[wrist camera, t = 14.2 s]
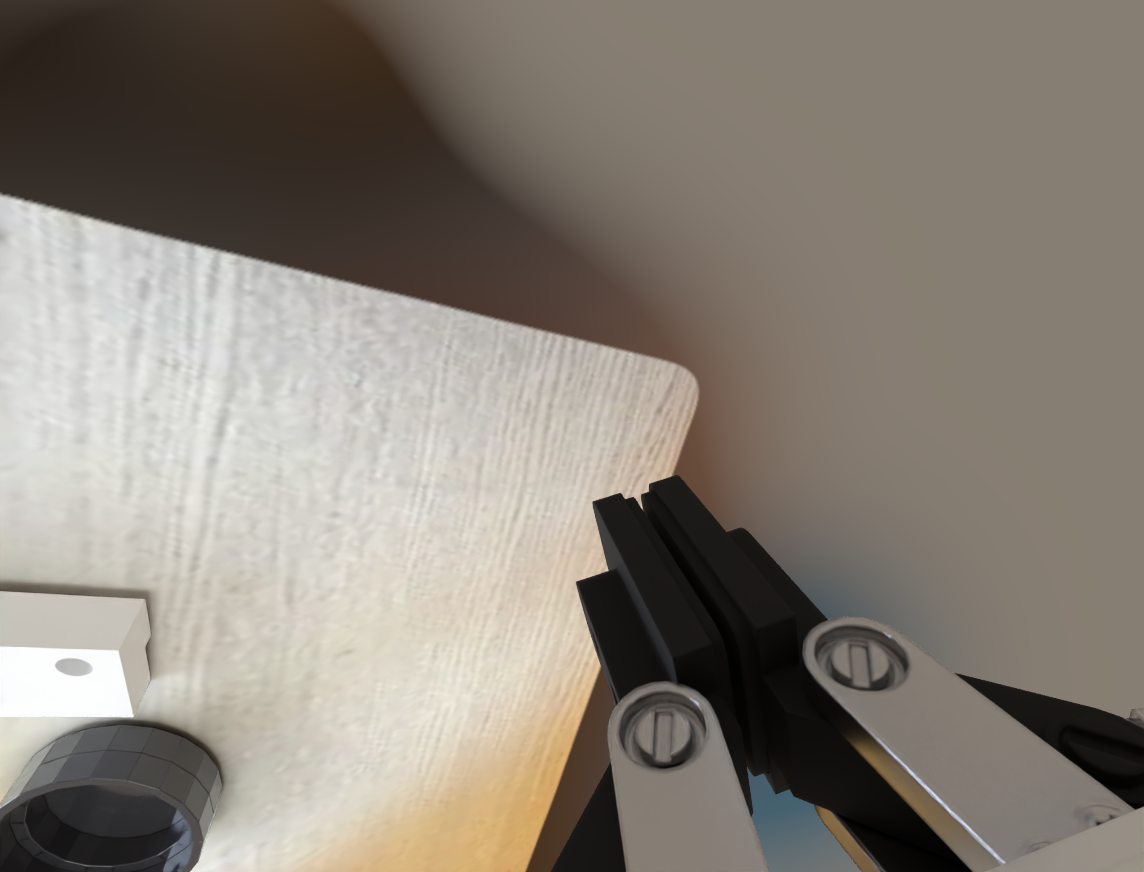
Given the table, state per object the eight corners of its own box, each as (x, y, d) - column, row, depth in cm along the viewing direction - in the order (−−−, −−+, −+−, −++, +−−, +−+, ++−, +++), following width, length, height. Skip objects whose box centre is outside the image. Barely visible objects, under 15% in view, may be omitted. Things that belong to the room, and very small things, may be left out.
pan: (-19, 760, 39) (-72, 826, 35) (170, 695, 40) (140, 751, 36) (89, 866, 44) (54, 935, 40) (253, 805, 45) (235, 866, 41)
